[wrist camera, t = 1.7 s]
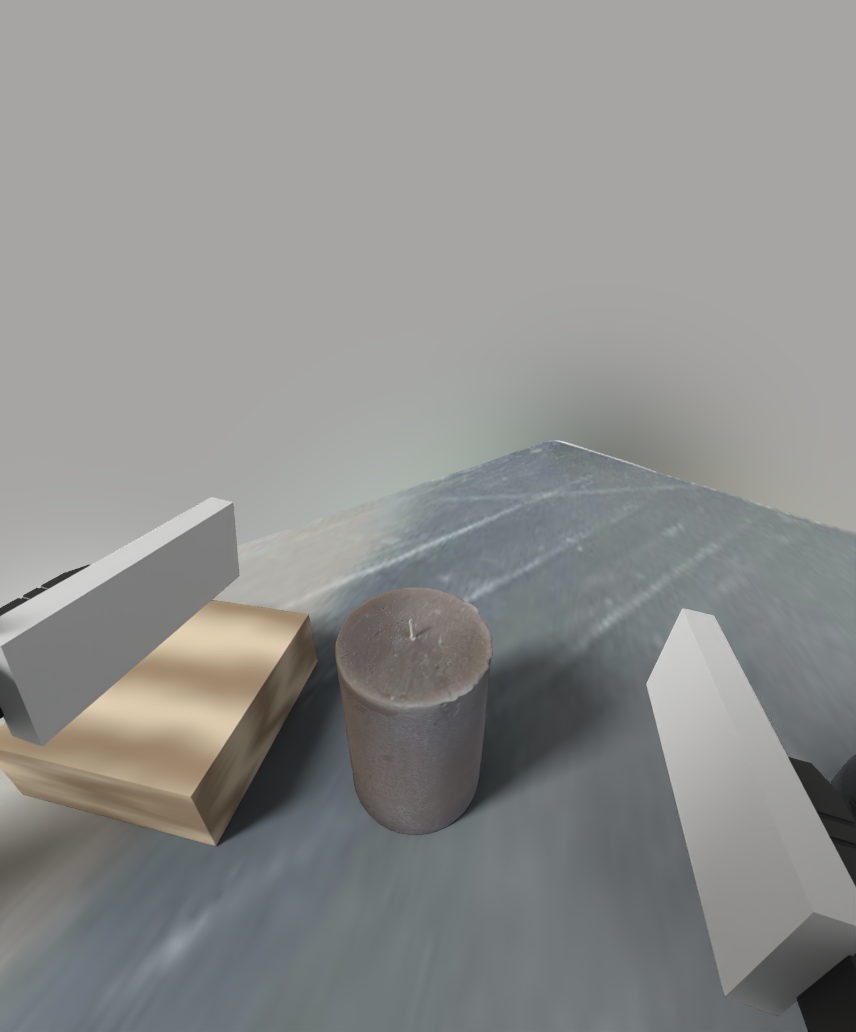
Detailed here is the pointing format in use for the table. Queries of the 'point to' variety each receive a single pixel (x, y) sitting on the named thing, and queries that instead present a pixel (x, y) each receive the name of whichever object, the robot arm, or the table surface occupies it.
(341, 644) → the pillar candle
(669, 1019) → the table surface
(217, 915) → the table surface
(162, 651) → the oak block
